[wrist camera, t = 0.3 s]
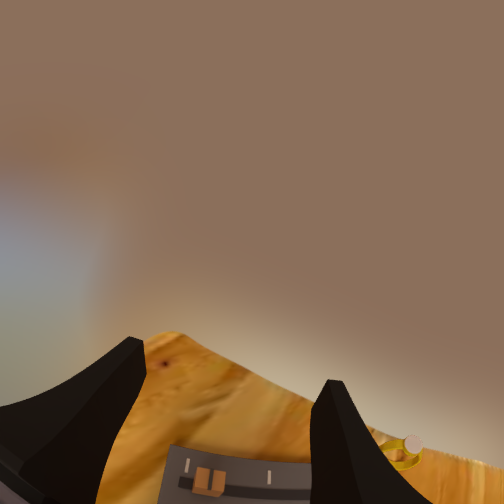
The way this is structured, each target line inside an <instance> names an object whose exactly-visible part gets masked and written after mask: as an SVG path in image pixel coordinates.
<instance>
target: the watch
mask: <svg viewBox="0 0 504 504" xmlns="http://www.w3.org/2000/svg"><path fill="white" fill-rule="evenodd" d="M379 448H380V449H381V451H382V452H383V453H384V452H386V451H390V450H395V449H402V450H403V451H404V453H405V454H406V455H408V456H416V455H417V456H416V457H414V458H413V459H410V460H407V461H402V462H394V461H391V460H389V462H390V463H391V464H392V465H393V467H394V468H395V469H396V470H397V471H401V470H406V469H409V468H412V467H414V466H416V465H417V464H418V463H420V461H421V458H422V452H423V445H422V441H421V440H420V438H418V437H417V436H415V435H410V436H408V437H406V438H405V439H397V440H392V441H388V442H385V443H384V444H382V445H381V446H379Z"/></svg>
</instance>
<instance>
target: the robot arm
mask: <svg viewBox="0 0 504 504" xmlns="http://www.w3.org/2000/svg"><path fill="white" fill-rule="evenodd" d="M146 374H147V372H146V364H145V355H144V344H143V340H139V339H136V338H134V337H130V336H129V337H127V338H126V339H125V340H123V341H122V342H121V343H120V344H118V345H117V346H116V347H114V348H113V349H112V350H110V351H109V352H108V353H107V354H105V355H104V356H103V357H101V358H100V359H99V360H97V361H96V362H95V363H93V364H91V365H90V366H89V367H87V368H86V369H84V370H83V371H81V372H80V373H78V374H76V375H75V376H73V377H72V378H71V379H68V380H67V381H65V382H63V383H61V384H60V385H58V386H56V387H54V388H52V389H50V390H48V391H46V392H43V393H41V394H39V395H36V396H34V397H31V398H29V399H26V400H23V401H20V402H16V403H13V404H10V405H6V406H1V407H0V504H95V502H96V497H97V493H98V489H99V485H100V482H101V478H102V475H103V471H104V468H105V465H106V462H107V459H108V456H109V454H110V451H111V448H112V446H113V443H114V441H115V439H116V436H117V434H118V432H119V431H120V429H121V427H122V425H123V423H124V421H125V419H126V417H127V416H128V414H129V412H130V410H131V408H132V406H133V404H134V403H135V401H136V399H137V397H138V395H139V393H140V390H141V388H142V385H143V382H144V380H145V377H146ZM310 450H311V473H312V483H311V495H310V504H433V503H431V502H430V501H428V500H427V499H426V498H424V497H423V496H422V495H421V494H420V493H419V492H417V491H416V490H415V489H414V488H413V487H412V486H411V485H410V484H409V483H408V482H407V481H406V480H405V479H404V478H403V477H402V476H401V475H400V474H399V473H398V471H397V470H396V469H395V468H394V467H393V465H392V464H391V463H390V462H389V460H388V459H387V458H386V456H385V455H384V454H383V452H382V451H381V449H380V448H379V446H378V445H377V443H376V442H375V440H374V439H373V437H372V436H371V434H370V432H369V430H368V429H367V427H366V425H365V423H364V422H363V420H362V418H361V417H360V414H359V413H358V411H357V409H356V407H355V405H354V403H353V401H352V399H351V397H350V395H349V393H348V391H347V389H346V387H345V385H344V383H343V381H338V380H329V379H328V380H327V381H326V383H325V385H324V387H323V389H322V391H321V393H320V394H319V396H318V398H317V400H316V402H315V403H314V405H313V407H312V409H311V419H310Z"/></svg>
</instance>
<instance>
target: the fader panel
mask: <svg viewBox="0 0 504 504" xmlns="http://www.w3.org/2000/svg"><path fill="white" fill-rule="evenodd" d="M197 467H201V468H206V469H210V468H213V469H214V470H217V471H224V472H226V476H225V486H224V492H223V493H222V494H221V495H220V496H219V497H213V496H207V495H201V494H196V493H192V488H193V482H194V476H195V473H196V470H197ZM311 483H312V473H311V463H288V462H274V461H263V460H253V459H245V458H238V457H231V456H224V455H218V454H213V453H208V452H202V451H198V450H193V449H188V448H184V447H180V446H176V445H172V444H170V448H169V453H168V457H167V461H166V466H165V470H164V475H163V480H162V484H161V489H160V494H159V498H158V503H157V504H310V495H311Z"/></svg>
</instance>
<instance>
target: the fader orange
mask: <svg viewBox="0 0 504 504" xmlns="http://www.w3.org/2000/svg"><path fill="white" fill-rule="evenodd" d="M225 476H226V472H224V471H217V470H214V469H213V468H210V469H206V468H201V467H197V470H196V473H195V476H194V482H193V488H192V493H196V494H201V495H207V496H213V497H219V496H220V495H221V494H222V493H223V492H224V486H225Z"/></svg>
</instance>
